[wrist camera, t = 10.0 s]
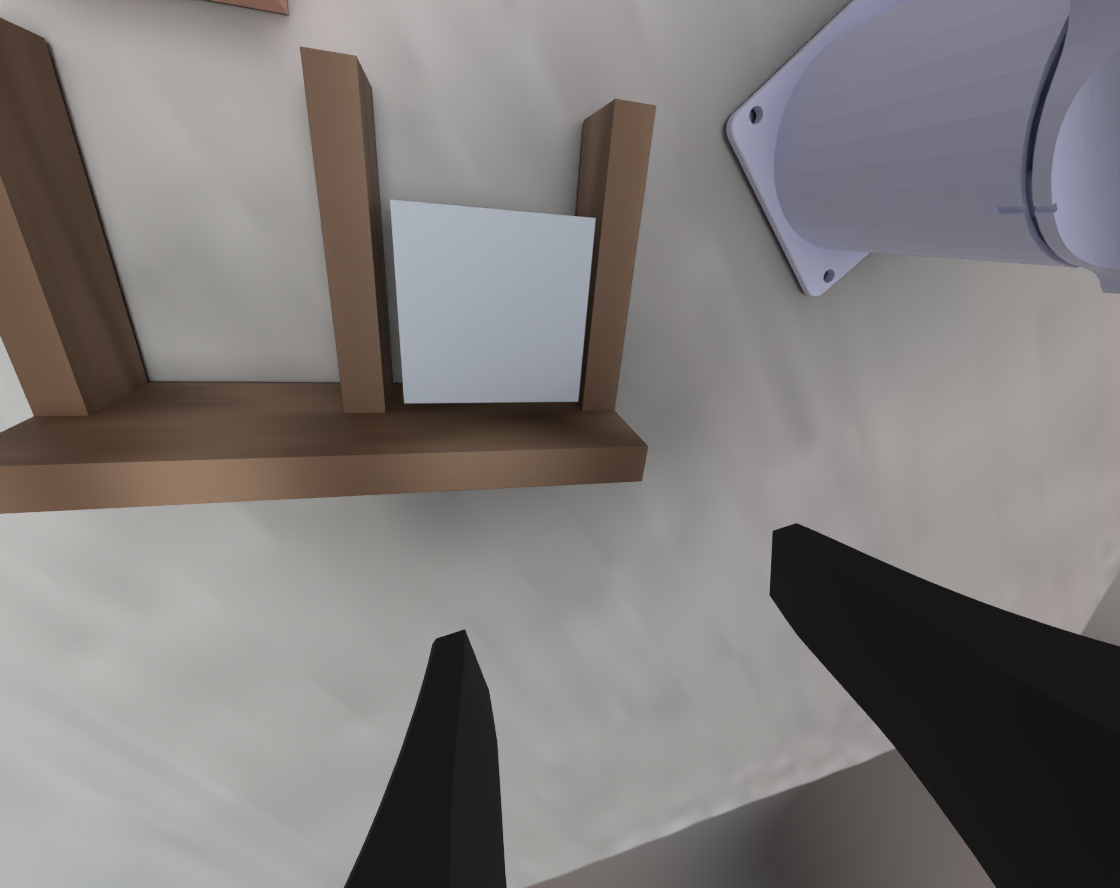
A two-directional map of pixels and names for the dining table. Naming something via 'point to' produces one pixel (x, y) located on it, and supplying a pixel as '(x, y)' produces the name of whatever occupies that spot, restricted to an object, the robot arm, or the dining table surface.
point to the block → (490, 302)
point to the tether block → (261, 4)
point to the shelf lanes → (278, 408)
